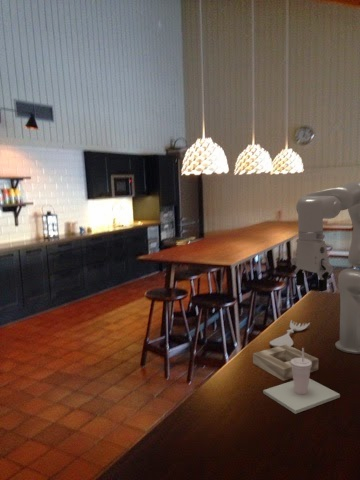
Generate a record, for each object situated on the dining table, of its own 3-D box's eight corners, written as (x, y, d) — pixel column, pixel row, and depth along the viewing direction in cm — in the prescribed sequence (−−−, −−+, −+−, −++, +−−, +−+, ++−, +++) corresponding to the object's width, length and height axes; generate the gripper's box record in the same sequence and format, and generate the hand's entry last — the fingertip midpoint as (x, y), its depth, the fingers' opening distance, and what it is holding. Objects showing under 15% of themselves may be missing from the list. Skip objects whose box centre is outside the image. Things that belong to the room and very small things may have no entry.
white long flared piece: (310, 328, 187) (310, 321, 187) (288, 353, 161) (288, 345, 160) (291, 325, 192) (291, 318, 192) (265, 349, 165) (265, 341, 165)
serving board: (305, 379, 138) (305, 376, 138) (339, 397, 126) (339, 394, 126) (263, 393, 130) (263, 390, 130) (295, 413, 118) (295, 410, 117)
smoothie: (313, 397, 124) (313, 352, 123) (291, 396, 126) (290, 352, 124) (310, 387, 131) (310, 344, 129) (289, 386, 132) (289, 343, 130)
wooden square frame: (286, 354, 159) (286, 344, 159) (318, 369, 145) (318, 358, 145) (253, 363, 152) (253, 353, 151) (283, 380, 138) (283, 369, 137)
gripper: (340, 237, 129) (340, 291, 131) (299, 232, 144) (300, 280, 146) (323, 240, 125) (323, 295, 128) (283, 235, 140) (284, 284, 143)
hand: (311, 287), depth 137 cm, fingers open, 9 cm apart
